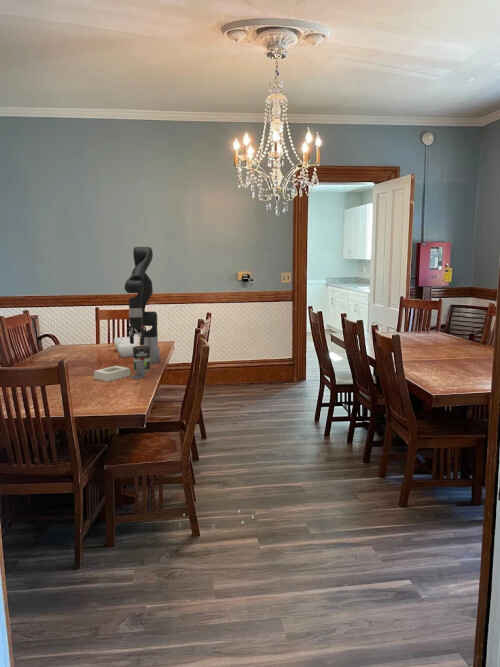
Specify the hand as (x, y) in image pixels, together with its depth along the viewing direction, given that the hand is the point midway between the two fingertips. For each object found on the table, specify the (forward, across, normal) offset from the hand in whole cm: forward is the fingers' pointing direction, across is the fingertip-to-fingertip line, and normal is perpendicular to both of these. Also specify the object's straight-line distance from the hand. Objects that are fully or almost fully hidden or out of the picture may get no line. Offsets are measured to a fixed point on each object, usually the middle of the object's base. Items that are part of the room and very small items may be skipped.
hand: (136, 344), depth 291 cm
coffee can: (+19, +12, -13) cm, 26 cm away
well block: (+19, +12, +9) cm, 24 cm away
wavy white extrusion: (+17, +60, -41) cm, 75 cm away
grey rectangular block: (+19, -1, +1) cm, 19 cm away
